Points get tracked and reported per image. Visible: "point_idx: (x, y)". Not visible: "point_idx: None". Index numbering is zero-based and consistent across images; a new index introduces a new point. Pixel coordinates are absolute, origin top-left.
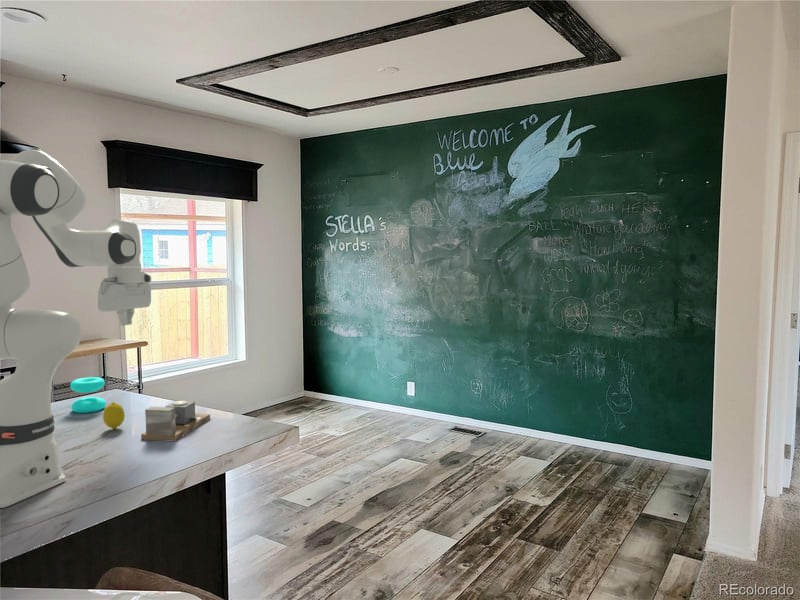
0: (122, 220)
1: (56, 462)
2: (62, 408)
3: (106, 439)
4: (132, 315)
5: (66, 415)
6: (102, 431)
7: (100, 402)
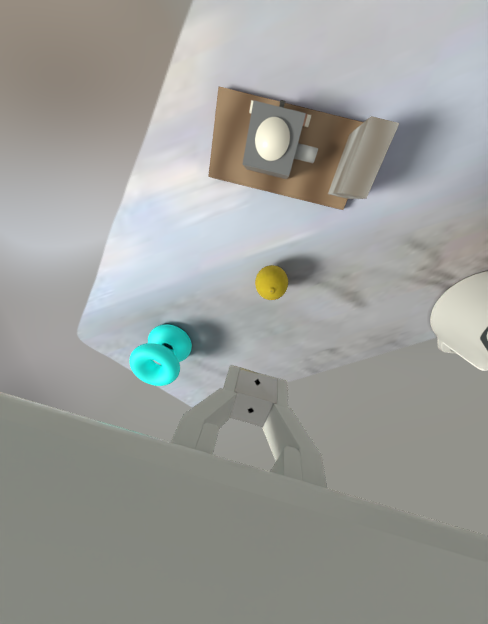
0: None
1: None
2: None
3: (322, 269)
4: (212, 402)
5: (200, 356)
6: None
7: (170, 331)
